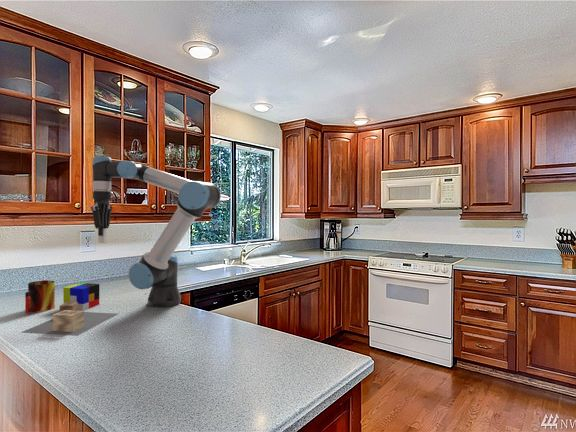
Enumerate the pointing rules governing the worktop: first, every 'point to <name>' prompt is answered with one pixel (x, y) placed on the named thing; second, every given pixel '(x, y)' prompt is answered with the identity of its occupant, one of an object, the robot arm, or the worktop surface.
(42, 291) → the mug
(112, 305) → the worktop surface
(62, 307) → the walnut cube
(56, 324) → the oak block
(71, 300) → the puzzle toy
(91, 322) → the mat
